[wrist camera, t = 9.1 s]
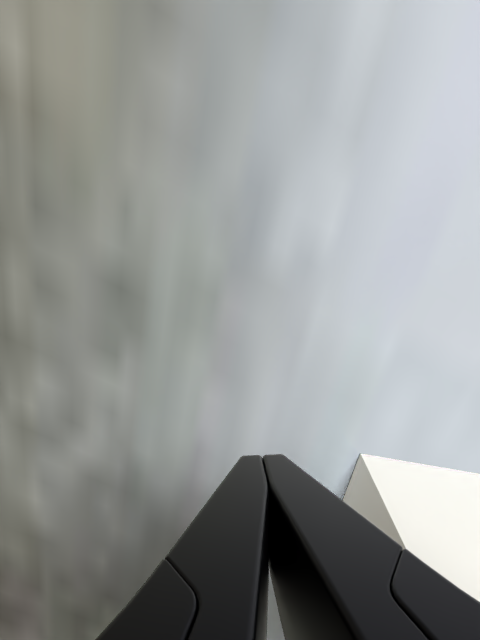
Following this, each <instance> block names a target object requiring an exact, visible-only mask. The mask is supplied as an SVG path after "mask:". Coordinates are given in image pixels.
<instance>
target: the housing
mask: <svg viewBox="0 0 480 640" xmlns="http://www.w3.org/2000/svg"><path fill="white" fill-rule="evenodd" d="M342 501H344V502H345V503H346V504H348V505H349V506H350V507H352V508H353V509H354V510H355V511H357V512H358V513H359V514H361V515H362V516H363V517H364V518H366V519H367V520H368V521H370V522H371V523H372V524H374V525H375V526H376V527H377V528H379V529H380V530H381V531H383V532H384V533H385V534H387V535H388V536H389V537H390V538H392V539H393V540H394V541H396V542H397V543H398V544H400V545H401V546H402V548H403V549H407V550H409V551H410V552H411V553H413V554H414V555H415V556H416V557H418V558H419V559H420V560H422V561H423V562H424V563H426V564H427V565H428V566H430V567H431V568H432V569H434V570H435V571H437V572H438V573H439V574H441V575H442V576H443V577H445V578H446V579H447V580H449V581H450V582H452V583H453V584H454V585H456V586H457V587H458V588H460V589H461V590H463V591H464V592H466V593H467V594H469V595H470V596H472V597H473V598H475V599H476V600H478V601H479V602H480V474H478V473H472V472H466V471H460V470H454V469H448V468H443V467H437V466H431V465H425V464H419V463H413V462H408V461H402V460H396V459H390V458H384V457H378V456H373V455H367V454H361V453H360V456H359V458H358V461H357V464H356V466H355V469H354V472H353V474H352V477H351V479H350V482H349V485H348V487H347V490H346V493H345V495H344V498H343V500H342Z"/></svg>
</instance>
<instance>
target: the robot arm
mask: <svg viewBox="0 0 480 640" xmlns="http://www.w3.org/2000/svg"><path fill="white" fill-rule="evenodd" d="M269 568H270V574H271V579H272V584H273V588H274V592H275V597H276V601H277V606H278V610H279V615H280V619H281V623H282V628H283V632H284V637H285V640H480V602H479V601H478V600H476V599H475V598H473V597H472V596H470V595H469V594H467V593H466V592H464V591H463V590H461V589H460V588H458V587H457V586H456V585H454V584H453V583H452V582H450V581H449V580H447V579H446V578H445V577H443V576H442V575H441V574H439V573H438V572H437V571H435V570H434V569H432V568H431V567H430V566H428V565H427V564H426V563H424V562H423V561H422V560H420V559H419V558H418V557H416V556H415V555H414V554H413V553H411V552H410V551H409V550H407V549H403V548H402V546H401V545H400V544H398V543H397V542H396V541H394V540H393V539H392V538H390V537H389V536H388V535H387V534H385V533H384V532H383V531H381V530H380V529H379V528H377V527H376V526H375V525H374V524H372V523H371V522H370V521H368V520H367V519H366V518H364V517H363V516H362V515H361V514H359V513H358V512H357V511H355V510H354V509H353V508H352V507H350V506H349V505H348V504H346V503H345V502H344V501H342V500H341V499H340V498H339V497H337V496H336V495H335V494H333V493H332V492H331V491H329V490H328V489H327V488H326V487H324V486H323V485H322V484H320V483H319V482H318V481H316V480H315V479H314V478H313V477H311V476H310V475H309V474H307V473H306V472H305V471H303V470H302V469H301V468H300V467H298V466H297V465H296V464H294V463H293V462H292V461H290V460H289V459H288V458H287V457H285V456H284V455H282V454H276V455H265V456H263V458H262V457H261V456H260V455H251V456H242V457H241V458H240V459H239V460H238V462H237V463H236V464H235V466H234V467H233V468H232V470H231V471H230V472H229V474H228V475H227V476H226V478H225V479H224V480H223V482H222V483H221V484H220V486H219V487H218V488H217V490H216V491H215V492H214V494H213V495H212V496H211V498H210V499H209V500H208V502H207V503H206V504H205V505H204V507H203V508H202V509H201V511H200V512H199V513H198V515H197V516H196V517H195V519H194V520H193V521H192V523H191V524H190V525H189V527H188V528H187V529H186V531H185V532H184V533H183V535H182V536H181V537H180V539H179V540H178V541H177V543H176V544H175V545H174V547H173V548H172V549H171V551H170V552H169V553H168V555H167V556H166V557H165V559H164V560H162V561H161V563H160V564H159V565H158V567H157V568H156V569H155V571H154V572H153V573H152V575H151V576H150V577H149V578H148V580H147V581H146V582H145V583H144V585H143V586H142V587H141V588H140V590H139V591H138V592H137V593H136V595H135V596H134V597H133V598H132V599H131V601H130V602H129V603H128V604H127V605H126V607H125V608H124V609H123V610H122V611H121V612H120V613H119V614H118V615H117V616H116V618H115V619H114V620H113V621H112V622H111V623H110V624H109V625H108V626H107V628H106V629H105V630H104V631H103V632H102V633H101V634H100V635H99V636H98V637H97V638H96V639H95V640H266V638H267V612H268V585H269Z"/></svg>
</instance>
